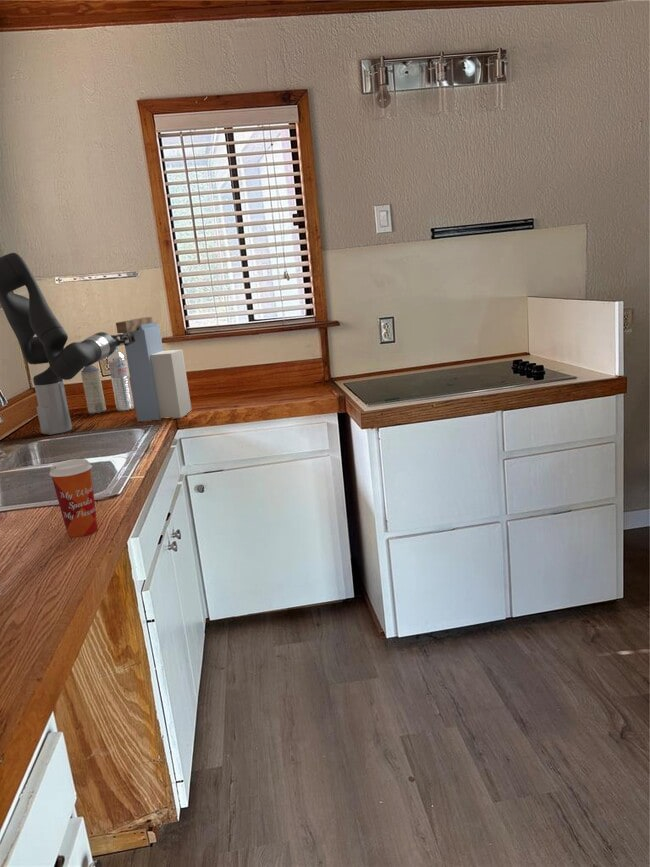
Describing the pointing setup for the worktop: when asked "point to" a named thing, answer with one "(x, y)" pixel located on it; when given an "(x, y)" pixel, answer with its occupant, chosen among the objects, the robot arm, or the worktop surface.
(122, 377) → the water bottle
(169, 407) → the white tall block
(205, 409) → the worktop surface
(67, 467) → the paper cup
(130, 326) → the bar
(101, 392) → the aerosol can
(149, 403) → the tower
